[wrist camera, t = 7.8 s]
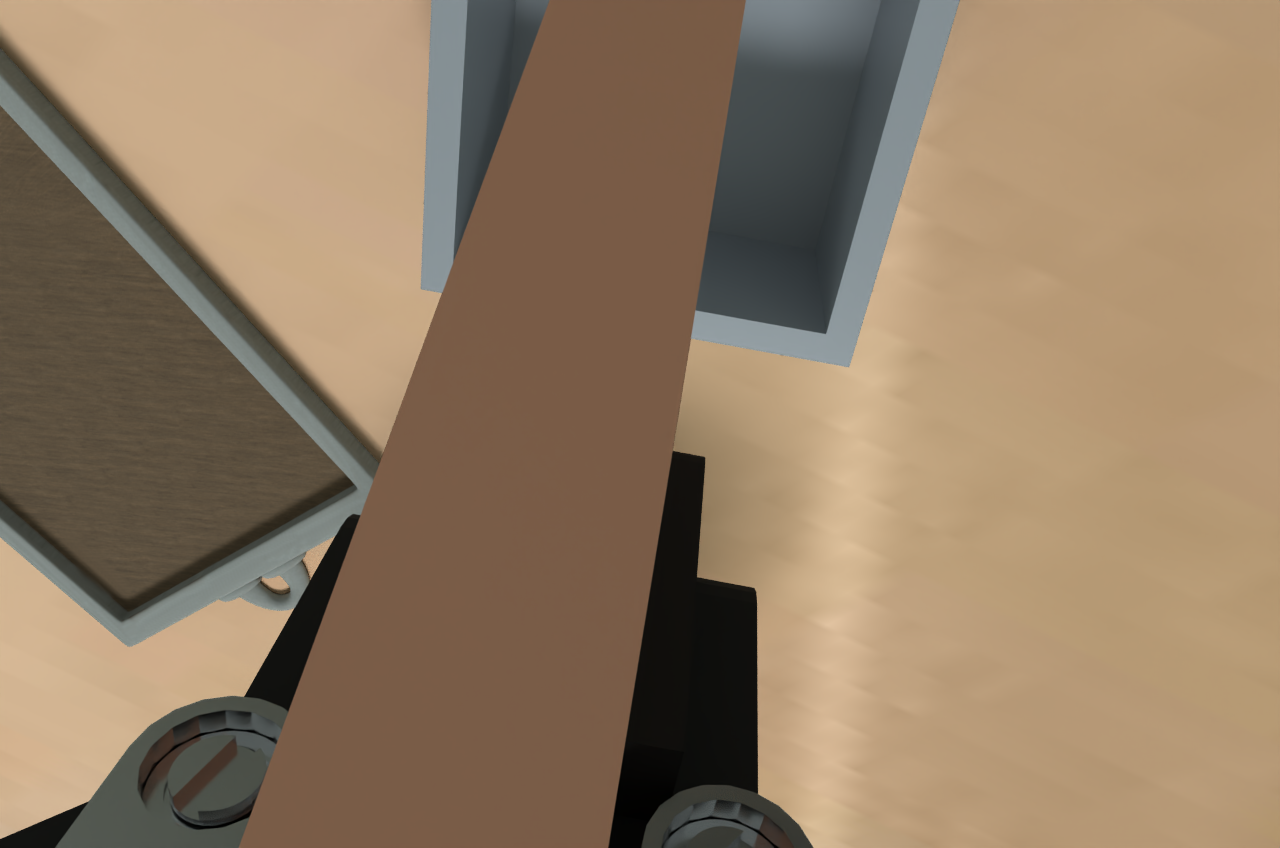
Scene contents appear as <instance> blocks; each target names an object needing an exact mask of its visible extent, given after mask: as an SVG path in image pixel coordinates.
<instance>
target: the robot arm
mask: <svg viewBox="0 0 1280 848" xmlns="http://www.w3.org/2000/svg"><path fill="white" fill-rule="evenodd" d="M704 472H705V457H702V456H697V455H691V454H686V453H680V452H675V451H673V452H672V458H671V464H670V470H669V476H668V482H667V489H666V495H665V501H664V507H663V513H662V519H661V526H660V532H659V538H658V544H657V550H656V556H655V562H654V569H653V575H652V581H651V587H650V593H649V599H648V606H647V612H646V618H645V624H644V630H643V636H642V642H641V649H640V655H639V661H638V667H637V673H636V679H635V685H634V692H633V698H632V704H631V710H630V716H629V722H628V729H627V735H626V741H625V747H624V753H623V759H622V765H621V772H620V778H619V784H618V790H617V796H616V802H615V808H614V815H613V821H612V827H611V833H610V839H609V845H608V848H813V846H812V845H811V843H810V842H809V840H808V838H807V837H806V835H805V834H804V832H803V830H802V829H801V827H800V826H799V824H797V823H796V822H795V821H794V820H793V819H792V818H791V817H790V816H789V815H788V814H787V813H786V812H785V811H784V810H783V809H781V808H780V807H779V806H778V805H776V804H774V803H773V802H771V801H769V800H767V799H766V798H764V797H762V796H760V795H758V712H757V596H756V591H755V588H751V587H746V586H740V585H735V584H730V583H724V582H719V581H714V580H708V579H703V578H697V568H698V554H699V540H700V526H701V513H702V499H703V485H704ZM360 516H361V515H357V514H352V515H350V516H349V517H347V519H346V520H345V522H344V523H343V524H342V526H341V527H340V529H339V531H338V533H337V534H336V536H335V538H334V540H333V541H332V543H331V545H330V547H329V548H328V550H327V552H326V554H325V555H324V557H323V559H322V561H321V563H320V564H319V566H318V568H317V570H316V571H315V573H314V575H313V577H312V578H311V580H310V582H309V584H308V585H307V587H306V589H305V591H304V592H303V594H302V596H301V598H300V599H299V601H298V603H297V605H296V607H295V608H294V610H293V612H292V614H291V615H290V617H289V619H288V621H287V622H286V624H285V626H284V628H283V629H282V631H281V633H280V635H279V636H278V638H277V640H276V642H275V644H274V645H273V647H272V649H271V651H270V652H269V654H268V656H267V658H266V659H265V661H264V663H263V665H262V666H261V668H260V670H259V672H258V673H257V675H256V677H255V679H254V681H253V682H252V684H251V686H250V688H249V689H248V691H247V693H246V695H245V696H244V697H239V696H227V697H220V698H212V699H204V700H201V701H198V702H195V703H193V704H190V705H187V706H184V707H181V708H178V709H176V710H174V711H172V712H171V713H169V714H167V715H166V716H164V717H163V718H161V719H159V720H158V721H156V722H155V723H153V724H151V725H150V726H149V727H148V728H147V729H146V730H145V731H144V732H143V733H142V734H141V735H140V736H139V737H138V738H137V739H136V740H135V741H134V742H133V743H132V744H131V745H130V746H129V748H128V749H127V750H126V752H125V753H124V755H123V756H122V757H121V759H120V760H119V761H118V763H117V764H116V765H115V767H114V768H113V770H112V771H111V772H110V774H109V775H108V776H107V778H106V779H105V780H104V782H103V783H102V785H101V786H100V787H99V789H98V790H97V791H96V793H95V794H94V795H93V797H92V798H91V800H90V801H89V802H86V803H84V804H82V805H79V806H77V807H75V808H72V809H70V810H68V811H65V812H63V813H61V814H58V815H56V816H53V817H51V818H49V819H46V820H44V821H42V822H39V823H37V824H35V825H32V826H30V827H28V828H25V829H23V830H21V831H18V832H16V833H14V834H11V835H9V836H7V837H4V838H2V839H0V848H239V845H240V843H241V840H242V837H243V834H244V832H245V829H246V826H247V824H248V821H249V818H250V815H251V813H252V810H253V807H254V804H255V802H256V799H257V796H258V794H259V791H260V788H261V785H262V783H263V780H264V777H265V774H266V772H267V769H268V766H269V764H270V761H271V758H272V755H273V753H274V750H275V747H276V744H277V742H278V739H279V736H280V734H281V731H282V728H283V725H284V723H285V720H286V717H287V715H288V712H289V709H290V706H291V704H292V701H293V698H294V695H295V693H296V690H297V687H298V685H299V682H300V679H301V676H302V674H303V671H304V668H305V665H306V663H307V660H308V657H309V655H310V652H311V649H312V646H313V644H314V641H315V638H316V635H317V633H318V630H319V627H320V625H321V622H322V619H323V616H324V614H325V611H326V608H327V605H328V603H329V600H330V597H331V595H332V592H333V589H334V586H335V584H336V581H337V578H338V576H339V573H340V570H341V567H342V565H343V562H344V559H345V556H346V554H347V551H348V548H349V546H350V543H351V540H352V537H353V535H354V532H355V529H356V526H357V524H358V521H359V518H360Z"/></svg>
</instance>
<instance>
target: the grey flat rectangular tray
mask: <svg viewBox="0 0 1280 848" xmlns="http://www.w3.org/2000/svg"><path fill="white" fill-rule="evenodd" d="M378 466H379V463H378V462H377V461H376V459H375V458H374V457H373V456H372V455H371V454H370V453H369V452H368V451H367V450H366V448H365V447H364V446H363V445H362V444H361V443H360V442H359V441H358V440H357V439H356V438H355V436H354V435H353V434H352V433H351V432H350V431H349V430H348V429H347V428H346V427H345V425H344V424H343V423H342V422H341V421H340V420H339V419H338V418H337V417H336V416H335V414H334V413H333V412H332V411H331V410H330V409H329V408H328V407H327V406H326V405H325V404H324V402H323V401H322V400H321V399H320V398H319V397H318V396H317V395H316V394H315V393H314V391H313V390H312V389H311V388H310V387H309V386H308V385H307V384H306V383H305V382H304V380H303V379H302V378H301V377H300V376H299V375H298V374H297V373H296V372H295V371H294V369H293V368H292V367H291V366H290V365H289V364H288V363H287V362H286V361H285V360H284V359H283V357H282V356H281V355H280V354H279V353H278V352H277V351H276V350H275V349H274V348H273V346H272V345H271V344H270V343H269V342H268V341H267V340H266V339H265V338H264V337H263V335H262V334H261V333H260V332H259V331H258V330H257V329H256V328H255V327H254V326H253V325H252V323H251V322H250V321H249V320H248V319H247V318H246V317H245V316H244V315H243V314H242V312H241V311H240V310H239V309H238V308H237V307H236V306H235V305H234V304H233V303H232V301H231V300H230V299H229V298H228V297H227V296H226V295H225V294H224V293H223V292H222V291H221V289H220V288H219V287H218V286H217V285H216V284H215V283H214V282H213V281H212V280H211V278H210V277H209V276H208V275H207V274H206V273H205V272H204V271H203V270H202V269H201V267H200V266H199V265H198V264H197V263H196V262H195V261H194V260H193V259H192V258H191V257H190V255H189V254H188V253H187V252H186V251H185V250H184V249H183V248H182V247H181V246H180V244H179V243H178V242H177V241H176V240H175V239H174V238H173V237H172V236H171V235H170V233H169V232H168V231H167V230H166V229H165V228H164V227H163V226H162V225H161V224H160V223H159V221H158V220H157V219H156V218H155V217H154V216H153V215H152V214H151V213H150V212H149V210H148V209H147V208H146V207H145V206H144V205H143V204H142V203H141V202H140V201H139V199H138V198H137V197H136V196H135V195H134V194H133V193H132V192H131V191H130V190H129V189H128V187H127V186H126V185H125V184H124V183H123V182H122V181H121V180H120V179H119V178H118V176H117V175H116V174H115V173H114V172H113V171H112V170H111V169H110V168H109V167H108V165H107V164H106V163H105V162H104V161H103V160H102V159H101V158H100V157H99V156H98V154H97V153H96V152H95V151H94V150H93V149H92V148H91V147H90V146H89V145H88V144H87V142H86V141H85V140H84V139H83V138H82V137H81V136H80V135H79V134H78V133H77V131H76V130H75V129H74V128H73V127H72V126H71V125H70V124H69V123H68V122H67V120H66V119H65V118H64V117H63V116H62V115H61V114H60V113H59V112H58V111H57V110H56V108H55V107H54V106H53V105H52V104H51V103H50V102H49V101H48V100H47V99H46V97H45V96H44V95H43V94H42V93H41V92H40V91H39V90H38V89H37V88H36V86H35V85H34V84H33V83H32V82H31V81H30V80H29V79H28V78H27V77H26V76H25V74H24V73H23V72H22V71H21V70H20V69H19V68H18V67H17V66H16V65H15V63H14V62H13V61H12V60H11V59H10V58H9V57H8V56H7V55H6V54H5V52H4V51H3V50H2V49H1V48H0V537H1V538H2V539H3V540H4V541H5V542H6V543H7V544H9V545H10V546H11V547H12V548H13V549H14V550H16V551H17V552H18V553H19V554H20V555H21V556H23V557H24V558H25V559H26V560H27V561H28V562H30V563H31V564H32V565H33V566H34V567H35V568H37V569H38V570H39V571H40V572H41V573H42V574H44V575H45V576H46V577H47V578H48V579H49V580H50V581H52V582H53V583H54V584H55V585H56V586H57V587H59V588H60V589H61V590H62V591H63V592H64V593H66V594H67V595H68V596H69V597H70V598H71V599H73V600H74V601H75V602H76V603H77V604H78V605H80V606H81V607H82V608H83V609H84V610H85V611H86V612H88V613H89V614H90V615H91V616H92V617H93V618H95V619H96V620H97V621H98V622H99V623H100V624H102V625H103V626H104V627H105V628H106V629H107V630H109V631H110V632H111V633H112V634H113V635H114V636H116V637H117V638H118V639H119V640H120V641H121V642H123V643H124V644H125V645H127V646H129V647H130V646H133V645H136V644H138V643H139V642H141V641H143V640H145V639H147V638H149V637H151V636H152V635H154V634H156V633H158V632H160V631H162V630H163V629H165V628H167V627H169V626H171V625H173V624H174V623H176V622H178V621H180V620H182V619H183V618H185V617H187V616H189V615H191V614H193V613H194V612H196V611H198V610H200V609H202V608H204V607H205V606H207V605H209V604H211V603H213V602H215V601H216V600H218V599H219V600H221V601H224V602H227V601H231V600H234V599H236V598H238V597H240V598H242V599H244V600H246V601H248V602H250V603H252V604H254V605H257V606H259V607H262V608H266V609H270V610H277V611H283V610H290V609H293V608H295V607H296V605H297V603H298V601H299V599H300V598H301V596H302V594H303V592H304V591H305V589H306V587H307V585H308V584H309V582H310V580H309V576H308V573H307V571H306V568H305V566H304V564H303V563H302V561H301V560H302V559H303V558H304V557H305V555H306V551H308V550H310V549H312V548H314V547H315V546H317V545H319V544H321V543H323V542H325V541H326V540H328V539H330V538H332V537H334V536H336V534H337V533H338V531H339V529H340V527H341V526H342V524H343V523H344V522H345V520H346V519H347V517H349V516H350V515H352V514H357V515H361V513H362V510H363V507H364V505H365V502H366V499H367V496H368V494H369V491H370V488H371V486H372V483H373V480H374V477H375V475H376V472H377V469H378ZM279 575H280V576H281V577H282V578H283V579H284V580H285V581H286V583H287V584H288V585H289V587H290V590H291V591H290V592H289V593H287V594H282V595H281V594H276V593H273V592H272V591H270V590H269V589H267V588H266V587H265V586H264V585H262V584H261V583H260V581H261V579H262V577H263V578H274V577H276V576H279Z"/></svg>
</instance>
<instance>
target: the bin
mask: <svg viewBox="0 0 1280 848" xmlns="http://www.w3.org/2000/svg"><path fill="white" fill-rule="evenodd" d="M959 1H960V0H746V3H745V9H744V15H743V21H742V27H741V34H740V40H739V46H738V52H737V58H736V64H735V70H734V77H733V83H732V89H731V95H730V101H729V107H728V113H727V120H726V126H725V132H724V138H723V144H722V150H721V157H720V163H719V169H718V175H717V181H716V187H715V193H714V200H713V206H712V212H711V218H710V224H709V230H708V236H707V243H706V249H705V255H704V261H703V267H702V273H701V280H700V286H699V292H698V298H697V304H696V310H695V316H694V323H693V329H692V335H691V339H697V340H702V341H708V342H713V343H719V344H724V345H730V346H735V347H741V348H746V349H752V350H757V351H763V352H768V353H774V354H779V355H785V356H790V357H795V358H801V359H806V360H812V361H817V362H823V363H828V364H834V365H839V366H845V367H849V366H850V363H851V359H852V356H853V353H854V349H855V346H856V343H857V339H858V336H859V333H860V329H861V326H862V323H863V319H864V316H865V313H866V309H867V306H868V303H869V299H870V296H871V293H872V290H873V286H874V283H875V280H876V276H877V273H878V270H879V266H880V263H881V260H882V256H883V253H884V250H885V246H886V243H887V240H888V236H889V233H890V230H891V226H892V223H893V220H894V217H895V213H896V210H897V207H898V203H899V200H900V197H901V193H902V190H903V187H904V183H905V180H906V177H907V173H908V170H909V167H910V163H911V160H912V157H913V153H914V150H915V147H916V144H917V140H918V137H919V134H920V130H921V127H922V124H923V120H924V117H925V114H926V110H927V107H928V104H929V100H930V97H931V94H932V90H933V87H934V84H935V80H936V77H937V74H938V71H939V67H940V64H941V61H942V57H943V54H944V51H945V47H946V44H947V41H948V37H949V34H950V31H951V27H952V24H953V21H954V17H955V14H956V11H957V7H958V4H959ZM548 3H549V0H432V2H431V29H430V56H429V83H428V110H427V137H426V164H425V191H424V217H423V244H422V271H421V289H423V290H428V291H434V292H439V293H442V292H443V289H444V287H445V284H446V281H447V278H448V276H449V273H450V270H451V268H452V265H453V262H454V259H455V257H456V254H457V251H458V248H459V246H460V243H461V240H462V238H463V235H464V232H465V229H466V227H467V224H468V221H469V218H470V216H471V213H472V210H473V208H474V205H475V202H476V199H477V197H478V194H479V191H480V188H481V186H482V183H483V180H484V178H485V175H486V172H487V169H488V167H489V164H490V161H491V158H492V156H493V153H494V150H495V148H496V145H497V142H498V139H499V137H500V134H501V131H502V129H503V126H504V123H505V120H506V118H507V115H508V112H509V109H510V107H511V104H512V101H513V99H514V96H515V93H516V90H517V88H518V85H519V82H520V79H521V77H522V74H523V71H524V69H525V66H526V63H527V60H528V58H529V55H530V52H531V49H532V47H533V44H534V41H535V39H536V36H537V33H538V30H539V28H540V25H541V22H542V19H543V17H544V14H545V11H546V9H547V6H548Z"/></svg>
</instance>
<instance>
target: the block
mask: <svg viewBox="0 0 1280 848" xmlns="http://www.w3.org/2000/svg"><path fill="white" fill-rule="evenodd" d="M745 3H746V0H549V3H548V6H547V9H546V11H545V14H544V17H543V19H542V22H541V25H540V28H539V30H538V33H537V36H536V39H535V41H534V44H533V47H532V49H531V52H530V55H529V58H528V60H527V63H526V66H525V69H524V71H523V74H522V77H521V79H520V82H519V85H518V88H517V90H516V93H515V96H514V99H513V101H512V104H511V107H510V109H509V112H508V115H507V118H506V120H505V123H504V126H503V129H502V131H501V134H500V137H499V139H498V142H497V145H496V148H495V150H494V153H493V156H492V158H491V161H490V164H489V167H488V169H487V172H486V175H485V178H484V180H483V183H482V186H481V188H480V191H479V194H478V197H477V199H476V202H475V205H474V208H473V210H472V213H471V216H470V218H469V221H468V224H467V227H466V229H465V232H464V235H463V238H462V240H461V243H460V246H459V248H458V251H457V254H456V257H455V259H454V262H453V265H452V268H451V270H450V273H449V276H448V278H447V281H446V284H445V287H444V289H443V292H442V295H441V298H440V300H439V303H438V306H437V308H436V311H435V314H434V317H433V319H432V322H431V325H430V327H429V330H428V333H427V336H426V338H425V341H424V344H423V347H422V349H421V352H420V355H419V357H418V360H417V363H416V366H415V368H414V371H413V374H412V377H411V379H410V382H409V385H408V387H407V390H406V393H405V396H404V398H403V401H402V404H401V407H400V409H399V412H398V415H397V417H396V420H395V423H394V426H393V428H392V431H391V434H390V437H389V439H388V442H387V445H386V447H385V450H384V453H383V456H382V458H381V461H380V464H379V466H378V469H377V472H376V475H375V477H374V480H373V483H372V486H371V488H370V491H369V494H368V496H367V499H366V502H365V505H364V507H363V510H362V513H361V516H360V518H359V521H358V524H357V526H356V529H355V532H354V535H353V537H352V540H351V543H350V546H349V548H348V551H347V554H346V556H345V559H344V562H343V565H342V567H341V570H340V573H339V576H338V578H337V581H336V584H335V586H334V589H333V592H332V595H331V597H330V600H329V603H328V605H327V608H326V611H325V614H324V616H323V619H322V622H321V625H320V627H319V630H318V633H317V635H316V638H315V641H314V644H313V646H312V649H311V652H310V655H309V657H308V660H307V663H306V665H305V668H304V671H303V674H302V676H301V679H300V682H299V685H298V687H297V690H296V693H295V695H294V698H293V701H292V704H291V706H290V709H289V712H288V715H287V717H286V720H285V723H284V725H283V728H282V731H281V734H280V736H279V739H278V742H277V744H276V747H275V750H274V753H273V755H272V758H271V761H270V764H269V766H268V769H267V772H266V774H265V777H264V780H263V783H262V785H261V788H260V791H259V794H258V796H257V799H256V802H255V804H254V807H253V810H252V813H251V815H250V818H249V821H248V824H247V826H246V829H245V832H244V834H243V837H242V840H241V843H240V845H239V848H608V845H609V839H610V833H611V827H612V821H613V815H614V808H615V802H616V796H617V790H618V784H619V778H620V772H621V765H622V759H623V753H624V747H625V741H626V735H627V729H628V722H629V716H630V710H631V704H632V698H633V692H634V685H635V679H636V673H637V667H638V661H639V655H640V649H641V642H642V636H643V630H644V624H645V618H646V612H647V606H648V599H649V593H650V587H651V581H652V575H653V569H654V562H655V556H656V550H657V544H658V538H659V532H660V526H661V519H662V513H663V507H664V501H665V495H666V489H667V482H668V476H669V470H670V464H671V458H672V452H673V446H674V439H675V433H676V427H677V421H678V415H679V409H680V403H681V396H682V390H683V384H684V378H685V372H686V366H687V360H688V353H689V347H690V341H691V335H692V329H693V323H694V316H695V310H696V304H697V298H698V292H699V286H700V280H701V273H702V267H703V261H704V255H705V249H706V243H707V236H708V230H709V224H710V218H711V212H712V206H713V200H714V193H715V187H716V181H717V175H718V169H719V163H720V157H721V150H722V144H723V138H724V132H725V126H726V120H727V113H728V107H729V101H730V95H731V89H732V83H733V77H734V70H735V64H736V58H737V52H738V46H739V40H740V34H741V27H742V21H743V15H744V9H745Z"/></svg>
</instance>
